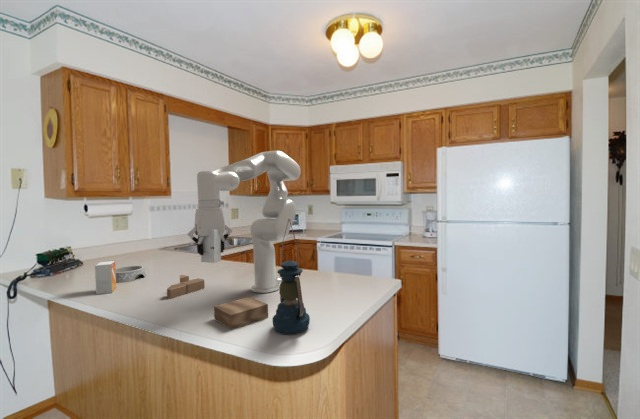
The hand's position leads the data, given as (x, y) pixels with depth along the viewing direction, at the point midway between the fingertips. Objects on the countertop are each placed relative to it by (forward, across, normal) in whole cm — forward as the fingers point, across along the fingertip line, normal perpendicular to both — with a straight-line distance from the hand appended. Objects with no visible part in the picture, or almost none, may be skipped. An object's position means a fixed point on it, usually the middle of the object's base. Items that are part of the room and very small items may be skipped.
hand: (211, 252), depth 120 cm
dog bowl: (+22, +23, -77) cm, 83 cm away
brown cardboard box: (+22, -5, +14) cm, 27 cm away
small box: (+22, +32, -55) cm, 67 cm away
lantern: (+22, -15, +32) cm, 41 cm away
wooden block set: (+22, +6, -36) cm, 42 cm away
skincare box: (+3, 0, 0) cm, 3 cm away
